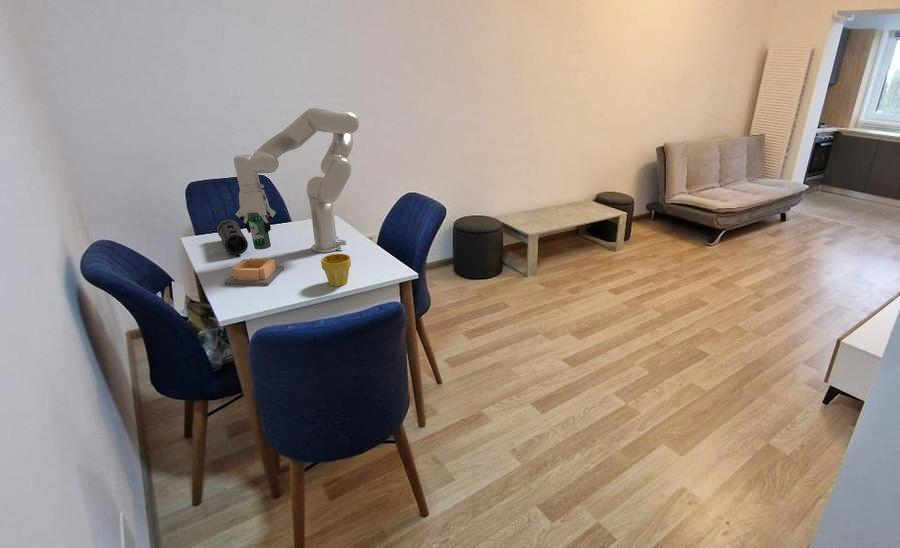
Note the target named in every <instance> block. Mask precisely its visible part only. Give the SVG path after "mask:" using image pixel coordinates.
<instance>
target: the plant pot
mask: <svg viewBox="0 0 900 548" xmlns="http://www.w3.org/2000/svg"><path fill="white" fill-rule="evenodd" d="M320 263H321V269H322V270H323V271H324V273H325V275H326V278H327V281H328V284H329V286H331V287H342V286H344V285H347V283H348V281H349V272H350V268H351V267H352V259H351V256H350V255H348V254H346V253H331V254H328V255H325V256H323V257H321V259H320Z"/></svg>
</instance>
